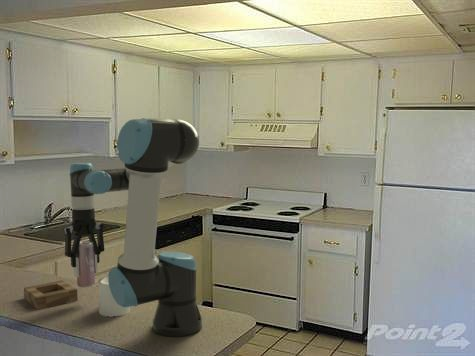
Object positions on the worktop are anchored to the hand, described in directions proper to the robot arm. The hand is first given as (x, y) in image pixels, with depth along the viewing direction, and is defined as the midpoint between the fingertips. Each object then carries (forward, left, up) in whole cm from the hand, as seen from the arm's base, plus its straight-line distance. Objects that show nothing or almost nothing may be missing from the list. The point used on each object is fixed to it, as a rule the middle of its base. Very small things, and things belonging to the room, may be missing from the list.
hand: (85, 274), depth 178 cm
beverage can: (0, 0, -4) cm, 4 cm away
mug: (-11, -5, -11) cm, 17 cm away
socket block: (+13, +8, -11) cm, 18 cm away
